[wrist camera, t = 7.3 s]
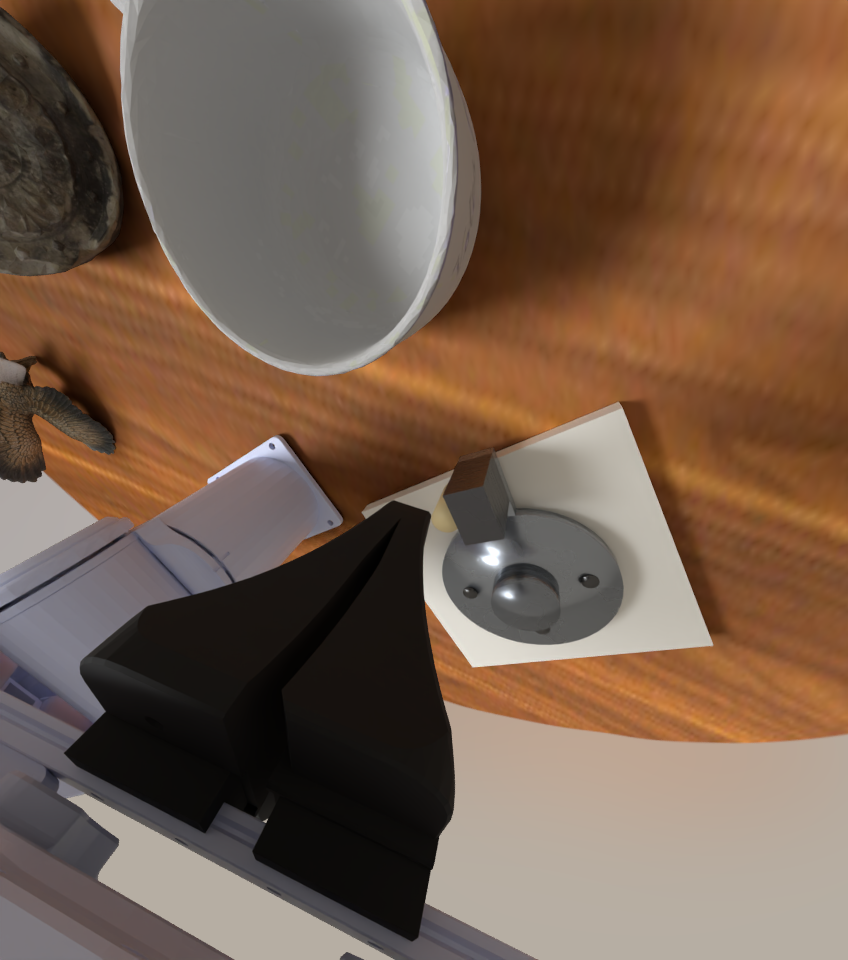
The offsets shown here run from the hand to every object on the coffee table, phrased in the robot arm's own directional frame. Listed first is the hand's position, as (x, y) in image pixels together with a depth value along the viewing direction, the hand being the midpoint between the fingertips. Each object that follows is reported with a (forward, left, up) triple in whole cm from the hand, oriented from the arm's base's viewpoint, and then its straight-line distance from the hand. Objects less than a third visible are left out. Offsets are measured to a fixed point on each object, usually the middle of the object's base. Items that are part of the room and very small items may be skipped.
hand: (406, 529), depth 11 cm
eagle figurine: (-30, +16, -11) cm, 36 cm away
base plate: (-1, -11, -10) cm, 15 cm away
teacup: (+1, +12, -11) cm, 16 cm away
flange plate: (-1, -9, -9) cm, 13 cm away
